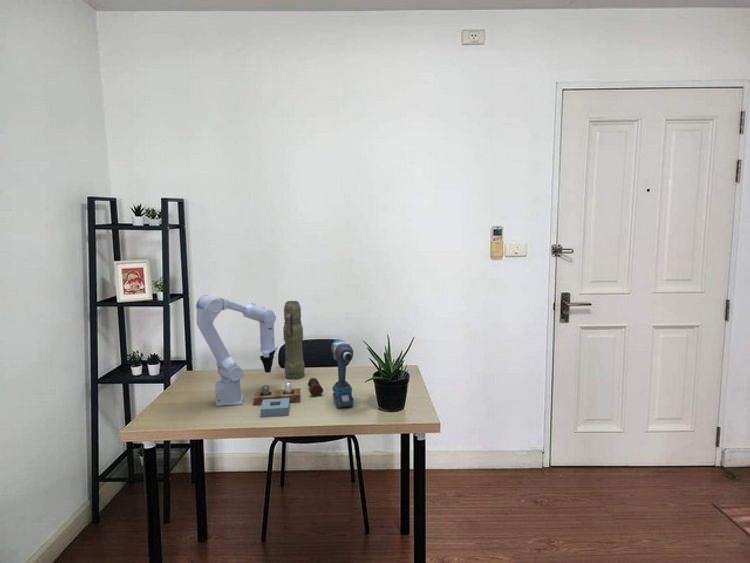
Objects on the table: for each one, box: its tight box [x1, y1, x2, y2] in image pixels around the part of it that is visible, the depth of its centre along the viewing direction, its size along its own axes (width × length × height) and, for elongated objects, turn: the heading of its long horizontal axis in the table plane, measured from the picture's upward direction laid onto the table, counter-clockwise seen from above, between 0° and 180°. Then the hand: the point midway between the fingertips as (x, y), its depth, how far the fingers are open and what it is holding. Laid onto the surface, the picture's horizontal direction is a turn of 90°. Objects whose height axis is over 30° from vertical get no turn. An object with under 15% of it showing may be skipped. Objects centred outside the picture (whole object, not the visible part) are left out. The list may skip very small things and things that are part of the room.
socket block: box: [259, 398, 291, 418], centre depth 185 cm, size 10×10×3 cm
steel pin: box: [284, 381, 293, 394], centre depth 196 cm, size 3×3×7 cm
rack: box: [252, 388, 301, 406], centre depth 196 cm, size 18×8×3 cm, turn 98°
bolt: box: [307, 377, 324, 398], centre depth 206 cm, size 6×5×15 cm
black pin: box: [261, 384, 270, 396], centre depth 195 cm, size 3×3×6 cm
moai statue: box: [282, 300, 306, 380], centre depth 224 cm, size 9×12×35 cm
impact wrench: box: [330, 338, 354, 409], centre depth 188 cm, size 8×23×25 cm, turn 16°
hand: (268, 369), depth 206 cm, fingers open, 7 cm apart
